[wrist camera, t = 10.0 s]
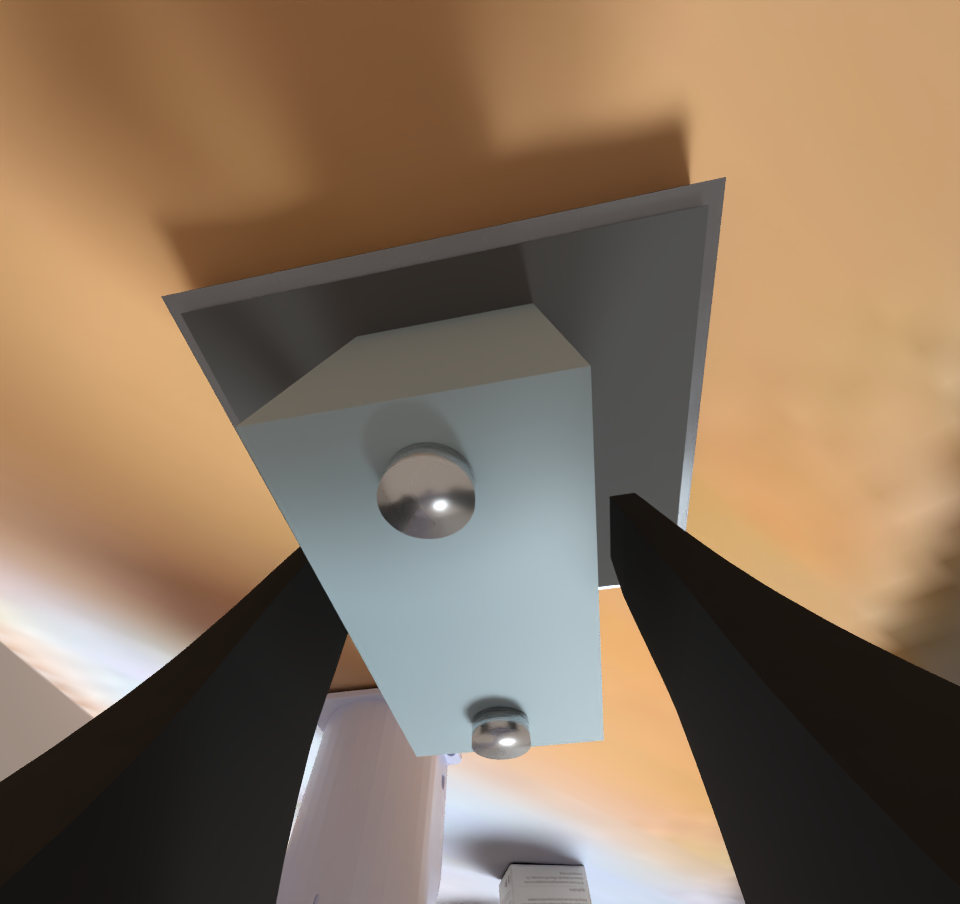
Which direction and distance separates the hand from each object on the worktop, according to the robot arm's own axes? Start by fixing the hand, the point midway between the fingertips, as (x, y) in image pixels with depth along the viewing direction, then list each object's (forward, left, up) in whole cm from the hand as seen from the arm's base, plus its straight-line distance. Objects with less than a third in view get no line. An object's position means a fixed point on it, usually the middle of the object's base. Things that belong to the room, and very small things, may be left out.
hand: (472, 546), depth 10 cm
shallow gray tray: (0, 0, -6) cm, 6 cm away
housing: (0, 0, -4) cm, 4 cm away
